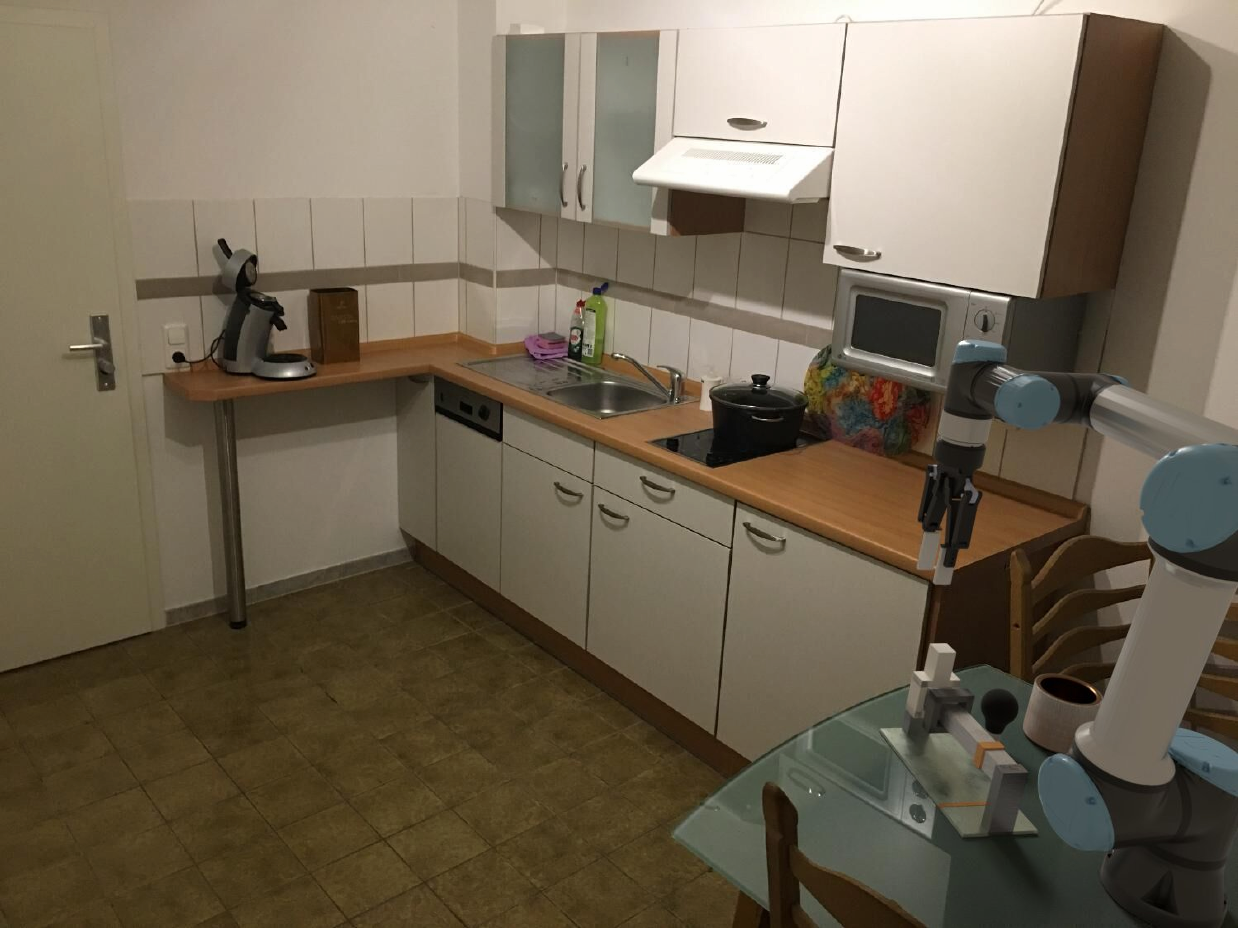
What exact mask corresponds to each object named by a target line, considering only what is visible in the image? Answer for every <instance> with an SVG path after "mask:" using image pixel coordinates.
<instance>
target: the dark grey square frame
mask: <svg viewBox="0 0 1238 928" xmlns="http://www.w3.org/2000/svg"><path fill="white" fill-rule="evenodd" d="M975 697H976V696H975V695H974V693H972V691H970V689H969V688H959V689H930V691H929V695H928V700H927V704H926V709H925V713H924V718H923V722H922V727H923V728H924V729H925V730H926V732H927V733H928V734H937V733H949V732H948V731H947V730H946V728H945V727H944V726H943V725H942V724H941V723H940V722H939V721H938V717H939V712H940V708H941V704H942V703H956V702H959V703H960V705H961V706H962V707H963V708H964V709H965V710H966V711H967V712H968V713H969V714H970V715H971V713H972V710H973V705H974V701H975V699H976V698H975ZM971 716H972V715H971Z"/></svg>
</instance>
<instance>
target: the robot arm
mask: <svg viewBox="0 0 1238 928" xmlns="http://www.w3.org/2000/svg"><path fill="white" fill-rule="evenodd" d="M1007 355H1008V351H1007V348H1006V347H1005V346H1004V345H1002V344H999V343H996V342H993V341H986V340H978V339H964V340H962V341H959V342H958V343H957V345H956V347H955V352H954V354H953V359H952V362H951V363H950V371H949V376H948V379H947V380H948V381H947V387H946V391H945V392H946V393H945V397H944V402H943V408H942V411H941V415H940V416H941V417H940V421H939V425H938V426H939V427H938V429H937V433H938V435H939V436H938V437H937V438H936V440H935V446H934V450H933V455H932V456H933V457H932V458H933V460H934V461H935V462H936V463H937V464H927V465H926V466H925V480H924V485H923V490H922V494H921V495H922V496H921V500H920V505H919V509H918V515H917V522H918V523H921V529H922V530H923V531H922V532H923V533H922V537H921V542H920V550H919V552H918V553H919V554H918V557H917V561H916V562H917V564H916V567H915V568H916V569H917V571H934V569H935V571H934V576H933V580H932V583H933V584H934V585H935V586H936V585H940V586H941V585H944V586H945V585H951V583H952V578H953V574H954V569H955V567H956V565H957V564H956V563H957V559H958V555H959V554H958V553H959V551H960V550H968V549H969V548H970V544H971V539H972V537H973V536H972V535H973V530H974V527H975V521H976V516H977V512H978V508H979V504H980V502H981V501H982V498H983V496H984V495H983V491H982V490H977V489H976V488H975V487H974V474H975V471H977V470H979V469H981V468H982V467H983V466H984V465H983V464H984V460H985V456H986V451H987V447H986V443H987V442H988V439H989V435H990V431H991V426H992V424H993V418H994V417H996V418H998V419H1000V420H1002V421H1004V422H1005V423H1007V424H1009V425H1010V426H1012V427H1015V428H1021V429H1024V430H1027V431H1035V430H1039V429H1041V428H1043V427H1045V426H1047V425H1049V424H1051V425H1052V424H1055V425H1057V424H1059V425H1078V426H1079V425H1080V426H1081V427H1082V426H1083V427H1085V428H1088V429H1090V430H1091V431H1094V432H1095V433H1098V434H1101V435H1103V436H1106V437H1108V438H1110V439H1112V440H1113V441H1116V442H1119V443H1121V444H1123V445H1124V446H1126V447H1128V448H1131V449H1133V450H1135V451H1137V452H1139V453H1142V454H1143V455H1146V456H1148V457H1150V458H1152V459H1155V460H1156V461H1157V462H1156V463H1155V464H1154V465H1153V467H1151V469H1150V471H1149V472H1148V474H1147V475H1146V478H1145V479H1144V482H1143V484H1142V488H1141V490H1140V495H1139V509H1140V510H1142V511H1143V514H1142V515H1141V516H1140V519H1141V523H1142V525H1143V528H1144V529H1145V531H1146V533H1147V534H1148V538H1147V542H1146V543H1147V547H1148V548H1149V550H1150V552H1151V553H1152V555H1153V557H1154V559H1155V562H1154V564H1153V566H1152V569H1151V572H1150V575H1149V577H1148V580H1147V582H1146V585H1145V588H1144V590H1143V593H1142V595H1141V598H1140V600H1139V604H1138V606H1137V609H1136V610H1135V614H1134V617H1133V618H1132V622H1131V624H1130V627H1129V628H1128V633H1127V634H1126V638H1125V640H1124V643H1123V645H1122V648H1121V650H1120V654H1119V656H1118V659H1117V661H1116V664H1115V666H1114V669H1113V671H1112V674H1111V677H1110V680H1109V682H1108V684H1107V687H1106V690H1105V691H1104V692H1105V693H1104V695H1103V696H1102V697H1103V700H1102V703H1101V705H1100V708H1099V711H1098V713H1097V716H1096V718H1095V721H1092V722H1087V723H1085V724H1083V725H1081V726H1080V727H1079V728H1078V729H1077V731H1076V733H1075V736H1074V738H1073V741H1072V744H1071V746H1070V749H1069V751H1068V752H1067V753H1066V754H1061V753H1056V754H1053V755H1051V756H1048V757H1047V758H1046V759H1044V761H1043V762H1042V763H1041V765H1040V767H1039V771H1038V775H1037V776H1038V777H1037V791H1038V797H1039V802H1040V803H1041V805H1042V806H1041V807H1042V810H1043V813H1044V816H1045V817H1046V819H1047V821H1048V823H1049V825H1050V827H1052V829H1053V831H1054V832H1055V834H1057V836H1058V837H1059V838H1060V839H1061V840H1062V841H1063V842H1064V843H1066V844H1067V846H1068V845H1069V846H1070V847H1072V848H1074V849H1076V850H1079V851H1086V852H1087V851H1089V852H1090V851H1091V852H1092V851H1095V852H1096V851H1100V852H1106V854H1105V855H1104V858H1103V861H1102V864H1101V867H1100V868H1101V869H1100V872H1099V873H1100V874H1099V875H1100V880H1101V883H1102V885H1103V887H1104V889H1105V891H1106V892H1107V893H1108V895H1109V896H1110V897H1111V898H1112V899H1113V900H1114V901H1115V902H1116V903H1117V904H1118V905H1120V906H1121V907H1122V908H1123V909H1125V911H1127V912H1128V913H1130V914H1131V915H1132V916H1135V917H1136V918H1138V919H1139V920H1142V921H1144V922H1145V923H1147V924H1149V925H1152V926H1154V927H1156V928H1221V927H1222V926H1223V924H1224V919H1226V918H1225V917H1226V915H1227V911H1228V905H1229V904H1228V897H1227V894H1226V893H1227V892H1226V890H1227V886H1226V885H1227V881H1226V869H1225V868H1226V867H1225V866H1226V864H1227V861H1228V857H1229V855H1230V852H1231V848H1232V846H1233V843H1234V841H1235V840H1234V839H1235V838H1236V834H1237V831H1238V752H1236V751H1234V750H1233V749H1231V748H1230V747H1229V746H1228V745H1225V744H1224V743H1222V742H1220V741H1218V740H1216V739H1214V738H1212V737H1210V736H1208V735H1205V734H1204V733H1200V732H1197V731H1194V730H1191V729H1188V728H1184V727H1183V728H1182V727H1180V725H1181V723H1182V720H1183V717H1184V715H1185V713H1186V711H1187V708H1188V705H1189V703H1190V701H1191V699H1192V696H1193V694H1194V692H1195V689H1196V687H1197V684H1198V682H1199V680H1200V677H1201V675H1202V673H1203V670H1204V668H1205V666H1206V663H1207V661H1208V658H1209V656H1210V653H1211V651H1212V649H1213V646H1214V645H1215V642H1216V640H1217V637H1218V635H1219V632H1220V630H1221V628H1222V625H1223V623H1224V620H1225V618H1226V615H1227V614H1228V611H1229V609H1230V606H1231V604H1232V602H1233V599H1234V596H1235V594H1236V592H1237V590H1238V429H1237V428H1235V427H1231V426H1229V425H1226V424H1224V423H1221V422H1219V421H1217V420H1213V419H1211V418H1209V417H1206V416H1203V415H1201V414H1198V413H1195V412H1193V411H1191V410H1188V409H1185V408H1182V407H1180V406H1178V405H1175V404H1172V403H1170V402H1168V401H1165V400H1162V399H1159V398H1157V397H1155V396H1153V395H1152V396H1151V395H1149V394H1146V393H1144V392H1141V391H1139V390H1136V389H1134V388H1133V386H1132V385H1131V384H1130V382H1129V380H1128V379H1126V378H1124V377H1122V376H1120V375H1115V374H1114V375H1112V374H1108V373H1105V372H1104V373H1102V372H1098V373H1080V372H1078V373H1077V372H1075V373H1074V372H1056V371H1055V372H1054V371H1037V370H1024V369H1019V368H1016V367H1013V366H1010V365H1008V364H1007ZM945 513H946V519H945V531H944V532H945V533H944V543H940V540H941V536H942V535H941V532H939V531H943V527H942V526H941V524H942V522H943V520H944V517H945ZM939 545H940V547H939ZM938 549H939V551H938ZM937 555H938V556H937ZM936 559H937V561H936ZM935 563H936V567H935Z"/></svg>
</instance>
